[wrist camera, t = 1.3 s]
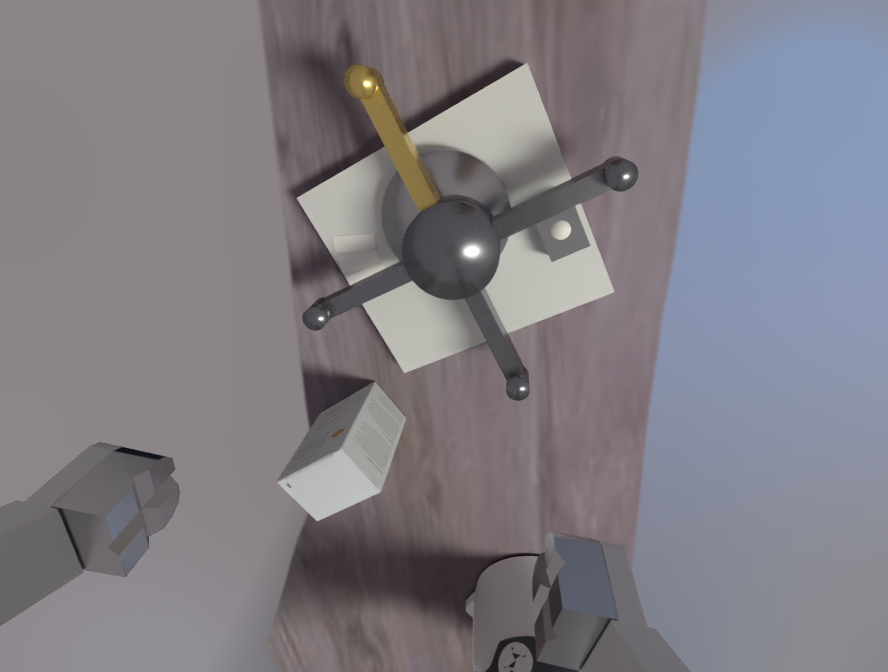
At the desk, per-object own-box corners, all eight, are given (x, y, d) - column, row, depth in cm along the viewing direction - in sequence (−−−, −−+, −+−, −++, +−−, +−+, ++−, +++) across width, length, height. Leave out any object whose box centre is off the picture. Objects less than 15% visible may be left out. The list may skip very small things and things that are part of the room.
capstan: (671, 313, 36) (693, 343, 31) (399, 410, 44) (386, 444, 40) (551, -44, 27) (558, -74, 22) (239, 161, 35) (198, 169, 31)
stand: (610, 285, 38) (619, 302, 34) (407, 365, 44) (399, 385, 41) (526, 64, 31) (527, 59, 28) (304, 195, 38) (284, 203, 35)
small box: (352, 446, 50) (315, 524, 41) (319, 410, 48) (273, 483, 39) (408, 418, 47) (382, 494, 38) (375, 379, 45) (339, 449, 36)
